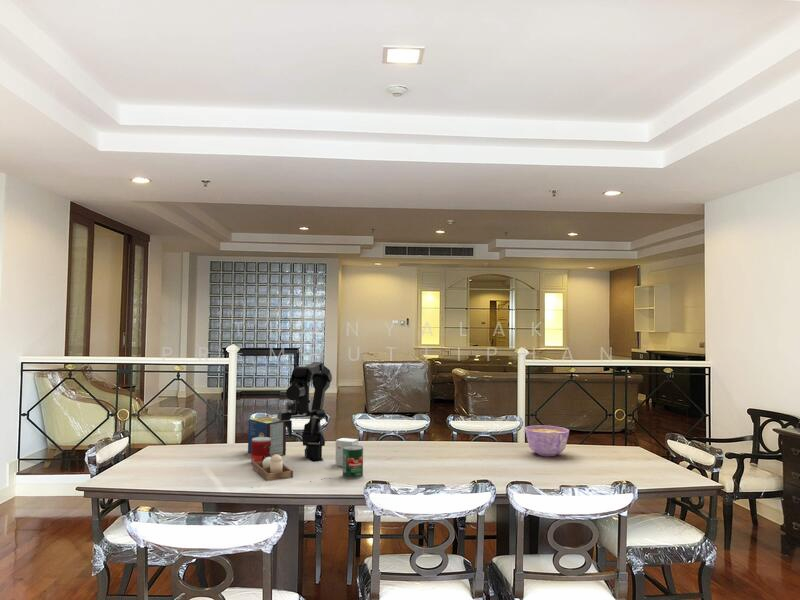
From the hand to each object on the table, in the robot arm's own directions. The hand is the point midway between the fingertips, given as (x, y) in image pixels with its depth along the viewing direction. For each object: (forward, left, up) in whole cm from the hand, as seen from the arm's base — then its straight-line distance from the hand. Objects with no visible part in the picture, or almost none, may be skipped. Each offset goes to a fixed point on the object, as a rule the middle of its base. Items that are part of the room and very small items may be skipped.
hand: (301, 436), depth 226 cm
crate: (+13, +6, -13) cm, 20 cm away
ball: (+13, +1, -12) cm, 18 cm away
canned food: (+13, -12, -13) cm, 22 cm away
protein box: (+5, -32, -13) cm, 35 cm away
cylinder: (+13, +11, -12) cm, 21 cm away
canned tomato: (-14, +20, -13) cm, 28 cm away
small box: (-19, +3, -13) cm, 23 cm away
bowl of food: (-109, +26, -13) cm, 113 cm away
